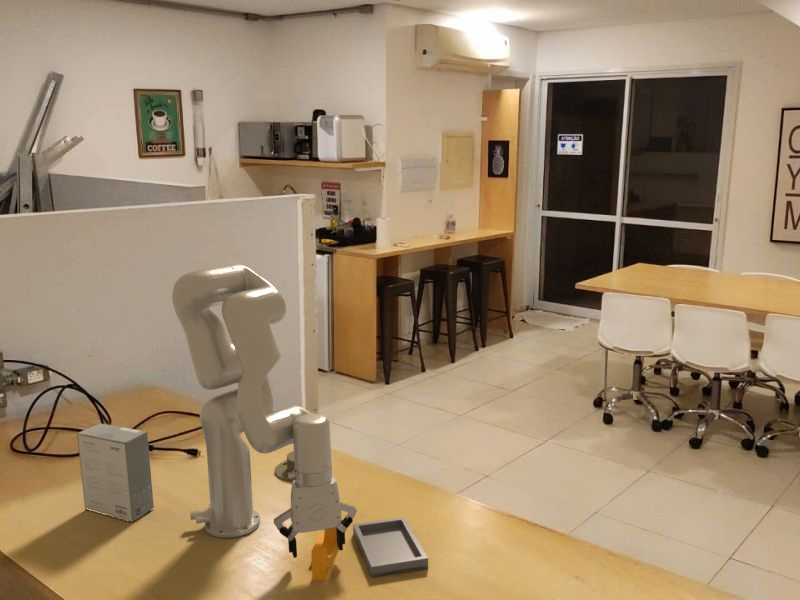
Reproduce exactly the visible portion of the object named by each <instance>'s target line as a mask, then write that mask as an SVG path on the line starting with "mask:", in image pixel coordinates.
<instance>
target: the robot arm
mask: <svg viewBox="0 0 800 600" xmlns="http://www.w3.org/2000/svg"><path fill="white" fill-rule="evenodd" d="M171 294H172V295H171V296H172V297H171V298H172V304H173V309H174V312H175V314H176V317H177V319H178V321H179V322H180V325H181V326H182V329H183V331H184V334H185V337H186V342H187V345H188V350H189V354H190V357H191V362H192V365H193V370H194V372H195V376H196V379H197V381H198V383H199V386H201V388H203V389H205V390H210V391H211V390H219V389H223V388H226V387H229V386H232V385H234V384H238V386H237V389H234V390H229V391H226V392H224V393H221V394H217V395H216V396H213V397H211V398H210V399H208V400H207V401H206V402H205V403H204V404H203V405H202V406H201V409H200V410H199V422H200V427H201V429H202V432H203V436H204V441H205V447H206V450H205V451H206V458H207V462H206V463H207V475H208V491H209V504H208V508H204V510H195V511H194V510H193V511H190V514H189V515H190V521H195V523H196V524H202V523H203V524H204V530H205V531H206V533H207V534H209V535H210V536H213V537H217V538H221V539H222V538H223V539H225V538H226V539H227V538H229V539H230V538H238V537H241V536H245V535H248V534H250V533H252V532H254V531H255V530H256V529H257V528H258V527H259V526H260V524H261V516H260V514H259V512H257V511H256V510H254V509H253V508H254V507H253V503H254V502H253V487H252V486H253V484H252V465H251V452H250V448H249V446H248V444H247V442H245V440H244V438H243V437H242V435H241V434H242V433H243V432H244V434H245V438H246V440H247V441H248V443H249V445H250V446H251V448H252V449H254V451H256V452H257V453H259V454H270V453H273V452H275V451H277V450H280V449H282V448H285V447H287V446H289V445H292V444H293V451H294V462H295V467H294V470H293V471H292V472H288V477H287V478H288V479H294V481H293V482H291V483H292V484H291V489H290V508H289V509H287V510H285V511H284V512H283V513H281V514H279V515H277V516H275V518H274V519H273V523H274V524H273V525H274V526H275V528H276V529H277V530H278V532H279V533H280V534H281V535H282V536H283V537H285V538H287V541H288V552H289V553H291V554H292V557H293V558H294V559H296V558H297V557H298V548H297V538H296V537H297V535H298V534H300V533H301V534H302V533H310V532H317V531H325V529H331V528H335V527H337V528H336V535H337V545H338V548H339V551H344V545H346V532H347V529H348V528H349V527H350V525H352V523H353V521H354V519H355V517H356V514H357V512H358V509H357V508H356V506H353V505H350V504H348V503H344V502H341V500H340V499H341V497H340V492H339V491H340V490H339V486H338V481H337V479H336V478H335V476H334V475H333V471H332V468H333V467H332V448H331V445H332V444H331V423H330V421H329V418H328V417H326V416H325V415H323V414H318V413H312V412H310V411H309V410H307V408H306V409H305V408H304V407H302V406H300V405H295V404H294V405H288V406H285V407H282V408H281V409H277V410H275V401H274V397H273V393H272V389H271V384H270V381H269V376H268V375H269V373H270V372H271V370H273V368H275V367H276V366H277V364H279V362H280V360H281V355H282V354H281V352H280V350H279V348H278V345H277V343H276V339H275V337H274V334H273V331H272V328H271V326H270V325H275V324H278V323H280V322H281V321H282V320H283V319H284V317H285V316H286V312H287V304H286V301H285V299H284V296H283V295H282V293H281V292H280V291H279V290H278V289H277V287H275V286H274V285H273V284H271V283H270V282H269V281H268V280H267V279H265V278H264V277H262V276H260V275H259V274H258V273H256V271H254V270H252V269H251V268H249V267H248V266H245V265H243V264H240V263H232V264H231V263H230V264H225V265H221V266H220V265H218V266H213V267H207V268H206V267H205V268H199V269H196V270H192V271H189V272H187V273H184V274H183V275H181V276H180V277H179V278H178V279H176V281H175V283H174V285H173V287H172V293H171ZM219 305H222V306H221V314H222V319H223V320H224V323H225V324H223V322H222V320H221V319H220V318H219V317H218V316H217V315H216V314H215V312H214V311H212V310H211V309H210V308H211V307H215V306H219ZM224 325H225V326H226V328H227V331H228V332H227V333H228V335H229V337H230V340H231V341H228V338H227V335H226V329H225V326H224ZM274 410H275V411H274ZM342 512H346V513H347V515H345V517H344V518H343V519H342ZM289 519H290V521H291V524H290V526H289V527H287V526H285V524H283V523H285V522H286V521H288V520H289Z"/></svg>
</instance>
